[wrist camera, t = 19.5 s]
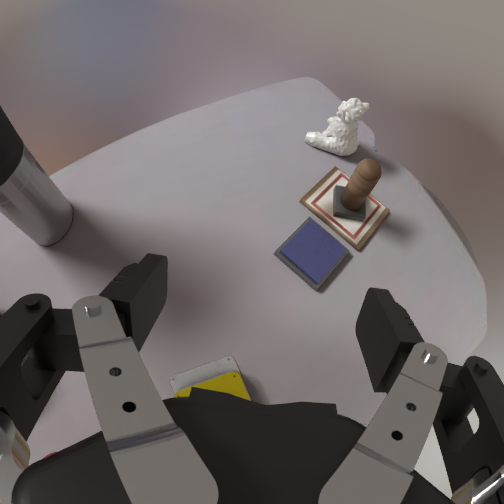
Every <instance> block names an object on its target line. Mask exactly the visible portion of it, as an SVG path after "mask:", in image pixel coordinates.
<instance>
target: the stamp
mask: <svg viewBox="0 0 504 504" xmlns="http://www.w3.org/2000/svg"><path fill="white" fill-rule="evenodd" d="M381 173H382V171H381V167H380V165H379V164H378V162H376V161H375V160H373V159H369V158H367V159H363V160H361V161H360V162H359V163H358V165H357V167H356V168H355V170H354V172H353V174H352V176H351V178H350V180H349V181H348V183H347V185H346V187H344V186H339V185H336V186H335V188H334V190H333V216H334V217H339V218H345V219H350V220H355V221H361V222H363V221H364V219H365V218H366V204H365V200H366V198H367V197H368V195H369V194H370V193H371V191H372V190H373V188H374V187H375V185H376V184H377V182H378V181H379V179H380V177H381Z"/></svg>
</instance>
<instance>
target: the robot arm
mask: <svg viewBox="0 0 504 504" xmlns="http://www.w3.org/2000/svg"><path fill="white" fill-rule="evenodd" d="M0 212H1V213H2V214H3V215H5V216H6V217H7V218H8V219H9V220H10V221H11V222H12V223H14V224H15V225H16V226H17V227H18V228H19V229H21V230H22V231H23V232H24V233H25V234H26V235H28V236H29V237H30V238H31V239H32V240H34V241H35V242H36V243H38V244H39V245H43V246H47V245H51V244H54V243H56V242H57V241H59V240H60V239H61V238H62V237H63V236H64V235H65V234H66V232H67V231H68V229H69V227H70V225H71V222H72V218H73V210H72V207H71V204H70V203H69V202H68V200H67V199H66V198H65V197H64V195H63V194H62V193H61V192H60V190H59V189H58V188H57V186H56V185H55V184H54V183H53V181H52V180H51V179H50V177H49V176H48V175H47V173H46V172H45V171H44V170H43V168H42V167H41V166H40V164H39V163H38V161H37V160H36V159H35V157H34V156H33V155H32V154H31V152H30V151H29V149H28V148H27V146H26V145H25V144H24V142H23V141H22V139H21V138H20V136H19V135H18V134H17V132H16V130H15V129H14V127H13V125H12V124H11V122H10V121H9V119H8V118H7V116H6V114H5V113H4V111H3V110H2V108H1V106H0ZM167 265H168V261H167V257H166V256H163V255H157V254H151V253H148V254H147V255H146V256H145V257H144V258H143V259H142V260H141V261H140V262H139V264H137V263H133V264H131V265H128V266H126V267H124V268H123V269H122V270H121V271H120V272H119V273H118V276H116V277H115V278H114V279H113V281H111V282H110V283H109V284H108V286H107V287H106V288H105V289H104V290H103V291H102V292H101V293H100V295H99V296H89V297H85V298H82V299H80V300H78V301H77V302H76V303H75V304H74V305H73V307H72V309H53V308H52V304H51V300H50V298H49V297H48V296H46V295H43V294H29V295H26V296H24V297H22V298H20V299H19V300H18V301H17V302H16V303H15V304H14V305H13V306H12V307H11V308H10V309H9V310H8V311H7V312H6V313H5V314H4V315H3V316H2V317H1V318H0V504H504V384H503V383H502V381H501V379H500V378H499V376H498V374H497V373H496V371H495V369H494V368H493V366H492V365H491V364H490V363H489V362H488V361H486V360H484V359H483V358H480V357H477V356H471V357H469V358H468V359H467V360H466V362H465V363H464V365H463V366H459V365H455V364H451V363H448V359H447V356H446V354H445V353H444V352H443V351H442V350H441V349H440V348H438V347H437V346H435V345H433V344H430V343H425V342H424V340H423V338H422V337H421V335H420V333H419V331H418V330H417V328H416V326H414V323H413V321H412V320H411V319H410V316H409V315H408V313H407V311H406V310H405V309H404V308H403V307H402V306H401V305H399V304H398V303H396V302H395V301H394V299H393V297H392V295H391V294H390V292H389V291H388V290H386V289H379V288H369V289H368V291H367V293H366V296H365V299H364V302H363V305H362V308H361V310H360V313H359V316H358V319H357V322H356V336H357V339H358V342H359V345H360V348H361V351H362V354H363V357H364V360H365V364H366V367H367V370H368V373H369V376H370V380H371V383H372V386H373V390H374V392H386V393H387V396H386V398H385V399H384V401H383V403H382V404H381V406H380V407H379V409H378V411H377V412H376V414H375V415H374V417H373V419H372V420H371V422H370V423H369V425H368V426H367V428H366V427H364V426H363V425H362V424H360V423H358V422H356V421H355V420H352V419H350V418H348V417H345V416H342V415H338V414H337V410H336V404H330V403H313V402H295V403H286V404H276V405H262V404H259V403H256V402H253V401H250V400H247V399H244V398H241V397H238V396H235V395H232V394H229V393H225V392H219V391H213V390H208V389H202V388H197V387H192V388H191V391H190V395H189V397H175V398H169V399H165V400H162V399H161V397H160V395H159V393H158V391H157V390H156V388H155V386H154V384H153V382H152V380H151V378H150V376H149V374H148V372H147V370H146V367H145V365H144V363H143V361H142V359H141V357H140V355H139V352H140V350H141V348H142V346H143V344H144V342H145V340H146V338H147V336H148V335H149V333H150V331H151V329H152V327H153V325H154V323H155V322H156V320H157V318H158V316H159V314H160V312H161V311H162V309H163V307H164V305H165V301H166V297H167ZM28 352H29V355H30V356H29V358H28V359H27V360H26V362H25V363H24V364H23V366H22V367H21V362H22V360H23V358H24V357H25V355H26V354H27V353H28ZM65 371H80V372H85V376H86V379H87V383H88V387H89V390H90V394H91V397H92V401H93V404H94V407H95V411H96V414H97V417H98V420H99V423H100V426H101V429H102V431H100V432H98V433H96V434H94V435H92V436H90V437H88V438H86V439H84V440H82V441H80V442H78V443H76V444H74V445H72V446H70V447H68V448H66V449H63V450H61V451H59V452H57V453H55V454H53V455H50V456H48V457H46V458H44V459H42V460H39V461H37V462H35V463H33V464H31V465H30V466H29V465H28V463H29V459H30V449H29V446H28V444H27V442H26V441H27V439H28V437H29V435H30V434H31V432H32V430H33V428H34V426H35V424H36V422H37V420H38V418H39V417H40V415H41V413H42V411H43V409H44V407H45V406H46V404H47V402H48V400H49V399H50V397H51V395H52V393H53V392H54V390H55V388H56V386H57V385H58V383H59V381H60V380H61V378H62V376H63V375H64V373H65ZM473 408H475V411H476V413H477V415H478V417H479V428H478V430H477V432H476V433H475V434H473V431H472V429H471V426H470V424H469V421H468V419H467V416H468V414H469V413H470V412H471V411H472V409H473ZM432 424H433V427H434V429H435V433H436V436H437V439H438V443H439V446H440V449H441V453H442V456H443V460H444V463H445V467H446V471H447V475H448V478H449V482H450V486H451V490H452V494H453V495H452V498H451V500H450V499H449V498H448V497H447V496H445V495H444V494H443V493H442V492H441V491H439V490H438V489H437V488H436V487H434V486H433V485H432V484H431V483H430V482H428V481H427V480H426V479H425V478H424V477H422V476H421V475H420V474H419V473H418V472H417V471H415V470H414V467H415V465H416V462H417V460H418V458H419V456H420V453H421V451H422V449H423V446H424V444H425V442H426V439H427V437H428V434H429V432H430V429H431V426H432Z"/></svg>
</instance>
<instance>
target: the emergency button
mask: <svg viewBox="0 0 504 504" xmlns="http://www.w3.org/2000/svg"><path fill="white" fill-rule="evenodd" d="M170 383H171V387H172V389H173V392H174V394H175V395H174V398H175V397H189V395H190V391H191V388H192V387H197V388H202V389H208V390H213V391H219V392H225V393H229V394H232V395H235V396H238V397H241V398H244V399H247V400H250V401H252V398H251V396H250V394H249V392H248V389H247V387H246V385H245V382H244V380H243V378H242V376H241V373H240V371H239V369H238V366H237V364H236V361H235V360H234V359H233V358H232V357H230V356H226V357H223V358H220V359H218V360H215V361H212V362H210V363H207V364H204V365H202V366H199V367H196V368H193V369H190V370H188V371H185V372H182V373H179V374H176V375H174V376H172V377H171V380H170Z"/></svg>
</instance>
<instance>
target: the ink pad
mask: <svg viewBox="0 0 504 504" xmlns="http://www.w3.org/2000/svg"><path fill="white" fill-rule="evenodd" d="M348 253H349V250H348V249H347V248H346V247H344V246H343V245H342V244H341V243H340V242H339V241H338V240H336V239H335V238H334V237H333V236H332V235H331V234H329V233H328V232H327V231H326V230H325V229H324V228H322V227H321V226H320V225H319V224H318V223H316V222H315V221H314V220H313V219H312V218H310V217H309V218H308V219H307V220H306V221H305V222H304V223H303V224H302V225H301V226H300V227H299V228H298V229H297V230H296V231H295V232H294V233H293V234H292V235H291V236H290V237H289V238H288V239H287V240H286V241H285V242H284V243H283V244H282V245H281V246H280V247H279V248H278V249H277V250H276V251H275V253H274V255H275V256H276V257H278V258H279V259H280V260H281V261H282V262H283V263H284V264H286V265H287V266H288V267H289V268H290V269H291V270H292V271H293V272H295V273H296V274H297V275H298V276H299V277H300V278H301V279H302V280H304V281H305V282H306V283H307V284H308V285H309V286H310V287H311V288H313V289H314V290H315V291H316V290H317V289H318V288H319V287H320V286H321V284H322V283H323V282H324V281H325V280H326V279H327V278H328V276H329V275H330V274H331V273H332V272H333V270H334V269H335V268H336V267H337V266H338V265H339V263H340V262H341V261H342V260H343V259H344V257H345V256H346V255H347V254H348Z"/></svg>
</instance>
